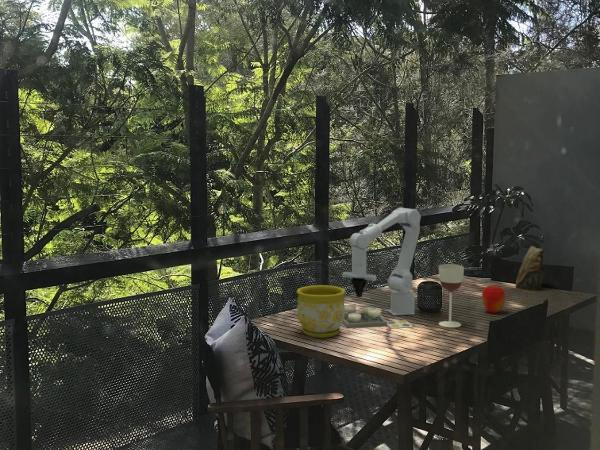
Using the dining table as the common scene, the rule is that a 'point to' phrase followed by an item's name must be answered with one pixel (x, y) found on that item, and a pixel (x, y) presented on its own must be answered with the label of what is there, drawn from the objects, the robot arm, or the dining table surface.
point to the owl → (531, 270)
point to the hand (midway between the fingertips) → (359, 296)
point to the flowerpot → (321, 310)
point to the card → (398, 324)
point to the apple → (493, 298)
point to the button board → (364, 321)
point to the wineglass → (450, 286)
